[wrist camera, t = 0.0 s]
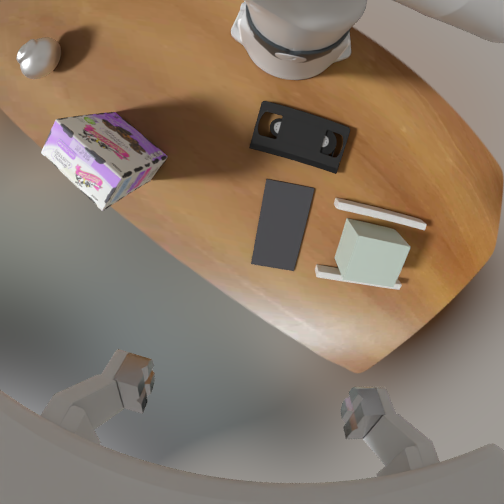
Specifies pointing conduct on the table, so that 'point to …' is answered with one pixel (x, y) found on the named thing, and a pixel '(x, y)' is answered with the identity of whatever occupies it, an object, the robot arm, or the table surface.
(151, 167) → the candy box
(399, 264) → the sage block
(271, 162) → the table surface
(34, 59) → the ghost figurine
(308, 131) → the vhs tape
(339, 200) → the channel
